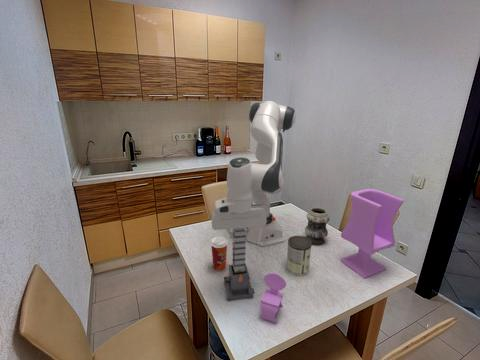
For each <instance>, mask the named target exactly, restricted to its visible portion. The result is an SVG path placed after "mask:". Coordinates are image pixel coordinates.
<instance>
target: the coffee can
mask: <svg viewBox="0 0 480 360" xmlns="http://www.w3.org/2000/svg"><path fill="white" fill-rule="evenodd" d="M306 237H307V236H302V235H293V236H290V237H289V238H288V239H287V253H286V265H285V266H286V268H285V269H286V270H287V271H288V272H289V273H290V274H292V275H294V276H299V277H300V276H301V277H302V276H305V275H307V274H308V273H309V271H310V261H311V251H312V245H313V244H312V242H311V241H310V240H309V239H308V238H306Z"/></svg>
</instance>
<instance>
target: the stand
mask: <svg viewBox="0 0 480 360" xmlns="http://www.w3.org/2000/svg"><path fill="white" fill-rule="evenodd" d="M250 280H251V276H250V273H249V270H248V267H247V265H246V262H245V272H244V273H234V270H233V264H229V265H228V276H223V282H224V285H225V293H226V298H227V302H230V301H238V300H246V299H253V298H254V295H255V294H256V292H255V289H254V287H252V285H251V282H250Z"/></svg>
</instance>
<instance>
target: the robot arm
mask: <svg viewBox="0 0 480 360" xmlns="http://www.w3.org/2000/svg"><path fill="white" fill-rule="evenodd" d="M296 119H297V118H296V110H295V108H293V107H291V106H288V105H287V106H286V105H283V104H278V103H277V102H275V101H272V100H267V101H263V102H254V103H253V104H252V105H251V106H250V108H249V112H248V120H249V121H250V123H251V126H250V133H251V136H252V138H253V139H254V140H255V142H257V144H256V149H255V153H254V155H255V158H256V160H257V161H258V162H259V163H256V162H251V160H250V159H249V158H247V157H242V156H241V157H235V158H233V159H230V161H229V162H228V166H227V173H226V187H227V193H226V196H225V197H223V198H220V199H216V200H215V201H214V208H213V210H212V214H211V228H212V229H213V230H214V231H221V230H226V232H227V234H228V236H229V237H228V238H229V239H230V240H233V238H234V234H233V231H231V230H233V229H235V228H244V229H246V228H247V229H246V230H245V235H246V237H245V240H247V241H248V242H249V243H251V244H255V245H257V246H260V247H266V246H272V245H275V244H281V243H285V242H287V240H288V239H287V234H286V233H285V232H284V230H283V228H282V226H281V225H280V224H279V222H277V221H276V220H277V218H276V217H275V216H274V215H273V213H271V201H270V199H269V198H268V197H267V196H266V194H268V195H279V194H280V193H281V192H282V190H283V189H284V187H285V179H284V177H283V172H282V170H283V153H284V141H283V139H284V138H283V134H282V133H285V131H288V130H290V129H291V128H292V127H293V125H294V124H295V123H296Z"/></svg>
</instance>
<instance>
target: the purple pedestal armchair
mask: <svg viewBox="0 0 480 360" xmlns="http://www.w3.org/2000/svg"><path fill="white" fill-rule="evenodd" d="M350 199H351V209H350V215H349V217H348V218H349V219H348V221H347V223H346V225H345V227H344V228H343V230H342V231H341V233H340V237H341V238H342V239H343V240H345V241H347V242H349V243H352V244H353V245H355V246H356V247H358V251H357V252H356V253H353V254H350V255H347V256H345V257H342V258H341V257H340V260H339V261H340V262H341V263H343V264H344V265H345V266H347V267H348V268H349V269H351V270H352V271H353V272H355V273H356V274H358V275H359V276H360V277H361V278H363V279H367V278H369V277H371V276H373V275H377V274H378V273H381V272H384V271H386V267H385V266H384V265H382V264H381V263H379V262H378V261H376V260H374V259H372V258H371V256H372V255H373V254H376V253H378V252H379V251H382V250H386V249H391V248H393V247H395V245H396V239H395V234H394V221H395V219H396V215H397V214H398V211H399V210H400V208H401V207H402V205H403V204H404V202H405V199H404V198H402V197H401V198H400V197H399V196H395V195H393V194H390V193H387V192H384V191H382V190H379V189H375V188H366V189H360V190H356V191H351V192H350Z"/></svg>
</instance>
